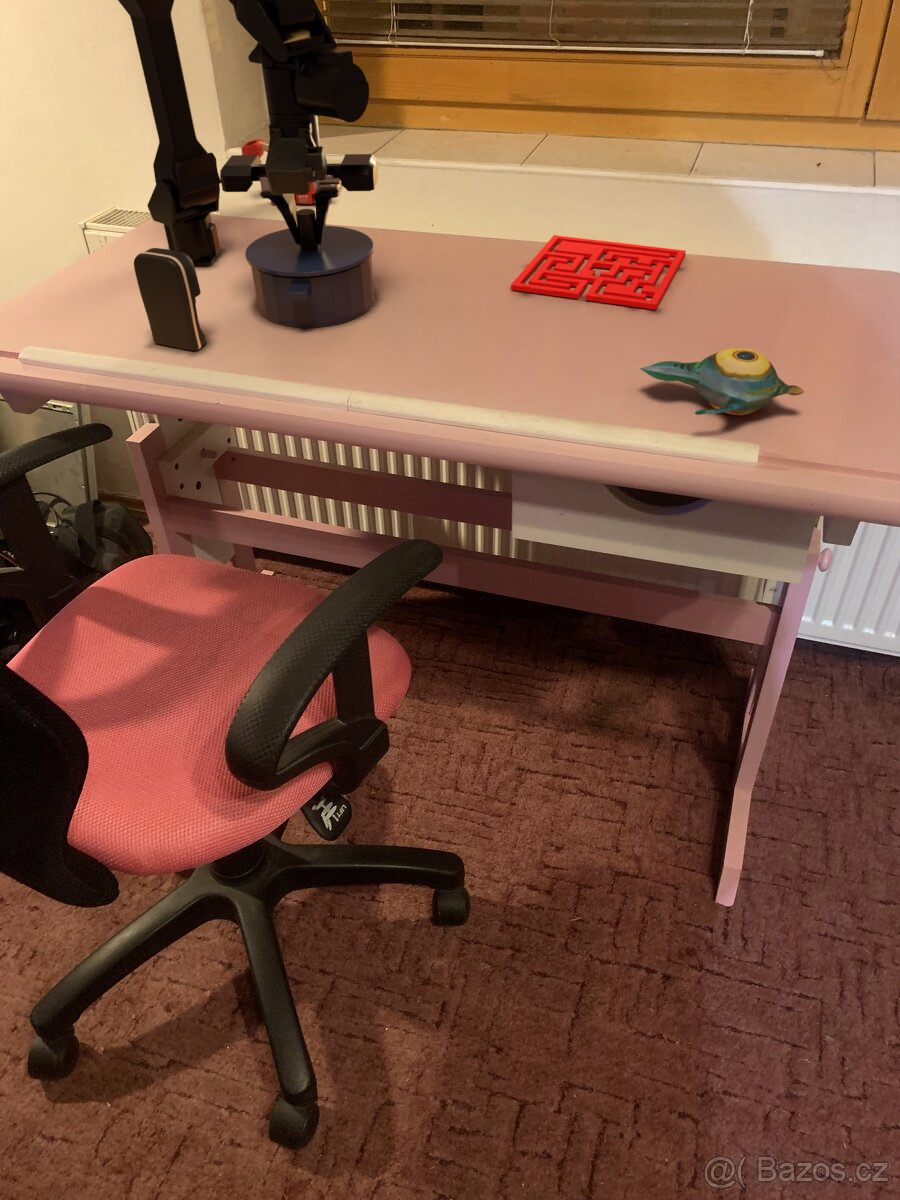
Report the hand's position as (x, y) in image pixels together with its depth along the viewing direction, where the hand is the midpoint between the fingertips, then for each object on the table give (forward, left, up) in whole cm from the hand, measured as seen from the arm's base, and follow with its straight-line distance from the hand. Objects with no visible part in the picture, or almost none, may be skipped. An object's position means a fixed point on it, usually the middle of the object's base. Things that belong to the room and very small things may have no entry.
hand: (309, 243), depth 114 cm
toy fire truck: (-11, +41, -8) cm, 43 cm away
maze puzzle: (+39, +10, -8) cm, 41 cm away
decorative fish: (+48, -28, -8) cm, 56 cm away
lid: (0, 0, -1) cm, 1 cm away
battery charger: (-15, -12, -8) cm, 21 cm away
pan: (0, 0, -8) cm, 8 cm away
